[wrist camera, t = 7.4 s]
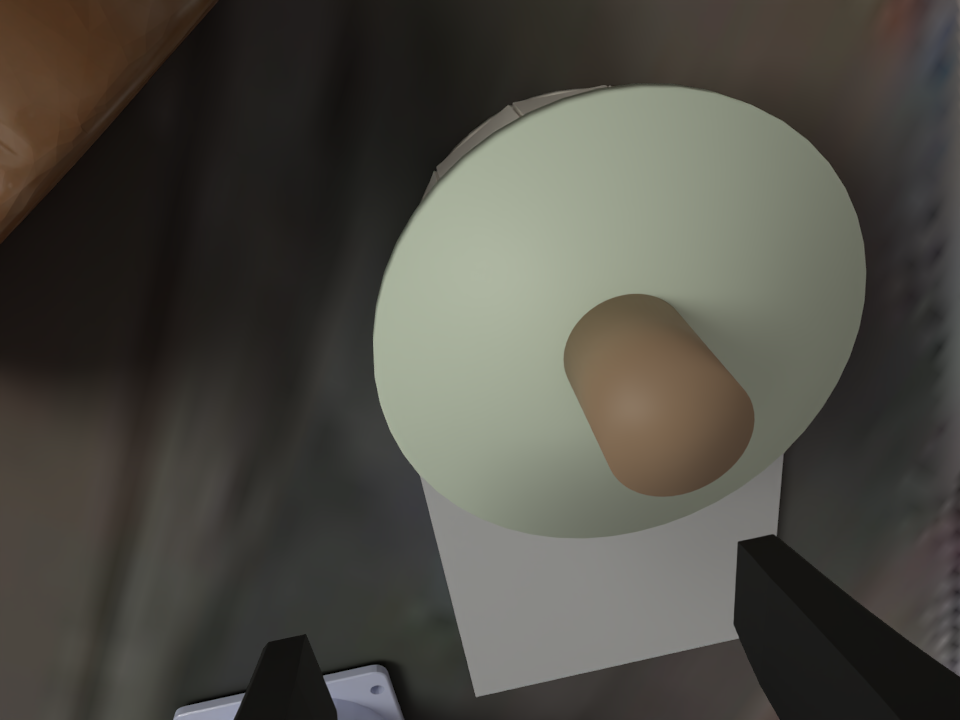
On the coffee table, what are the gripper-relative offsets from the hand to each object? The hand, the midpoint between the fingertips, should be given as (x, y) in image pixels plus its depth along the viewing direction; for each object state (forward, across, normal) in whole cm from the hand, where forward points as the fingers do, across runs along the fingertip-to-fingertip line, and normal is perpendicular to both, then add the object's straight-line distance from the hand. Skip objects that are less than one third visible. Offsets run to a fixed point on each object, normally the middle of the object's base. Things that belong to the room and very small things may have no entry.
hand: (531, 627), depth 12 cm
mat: (+10, -4, +10) cm, 15 cm away
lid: (+6, -3, -2) cm, 7 cm away
